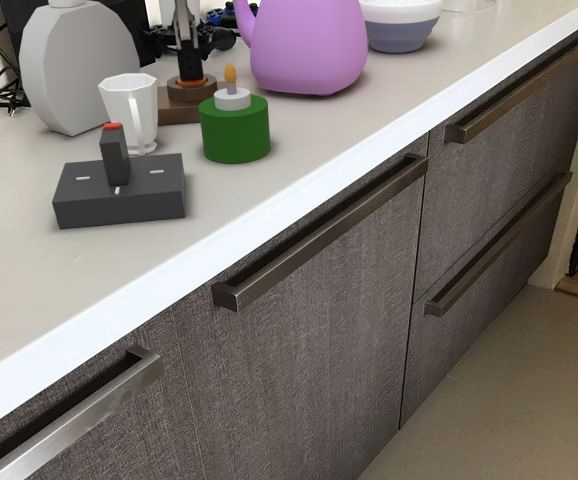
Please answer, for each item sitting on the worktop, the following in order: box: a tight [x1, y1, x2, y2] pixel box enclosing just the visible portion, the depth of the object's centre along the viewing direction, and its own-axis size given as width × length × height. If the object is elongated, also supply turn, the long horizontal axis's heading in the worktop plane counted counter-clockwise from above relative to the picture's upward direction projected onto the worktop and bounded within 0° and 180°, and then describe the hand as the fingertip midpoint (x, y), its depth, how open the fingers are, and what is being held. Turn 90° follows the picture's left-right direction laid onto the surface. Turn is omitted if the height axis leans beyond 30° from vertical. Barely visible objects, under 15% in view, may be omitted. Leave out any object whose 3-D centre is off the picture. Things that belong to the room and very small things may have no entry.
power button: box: [177, 77, 206, 86], centre depth 92 cm, size 4×4×2 cm
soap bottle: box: [18, 0, 141, 137], centre depth 86 cm, size 16×5×20 cm, turn 142°
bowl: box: [359, 0, 444, 54], centre depth 112 cm, size 14×14×8 cm
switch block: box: [157, 73, 227, 127], centre depth 93 cm, size 12×10×4 cm
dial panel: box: [51, 152, 186, 230], centre depth 72 cm, size 13×10×3 cm
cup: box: [98, 72, 158, 157], centre depth 81 cm, size 7×10×8 cm
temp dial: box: [98, 122, 131, 186], centre depth 69 cm, size 5×2×5 cm, turn 7°
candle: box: [198, 63, 271, 164], centre depth 79 cm, size 8×8×10 cm
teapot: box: [231, 0, 369, 97], centre depth 99 cm, size 23×21×15 cm
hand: (192, 78), depth 92 cm, fingers closed
